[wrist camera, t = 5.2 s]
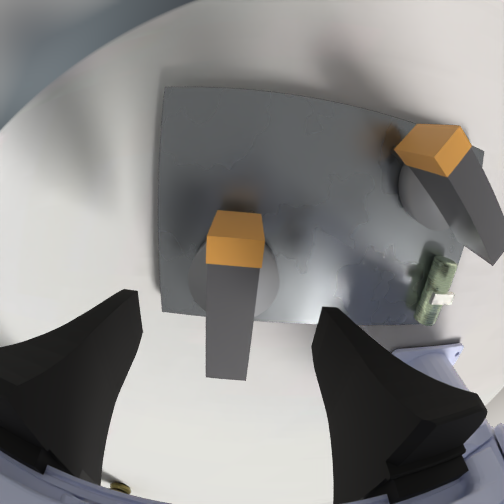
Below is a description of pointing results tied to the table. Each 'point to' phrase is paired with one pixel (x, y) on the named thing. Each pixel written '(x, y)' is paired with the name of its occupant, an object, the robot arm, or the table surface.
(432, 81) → the table surface
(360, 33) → the table surface
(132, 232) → the table surface
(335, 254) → the plate
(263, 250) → the knob
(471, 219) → the knob
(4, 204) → the table surface
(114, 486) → the cup
